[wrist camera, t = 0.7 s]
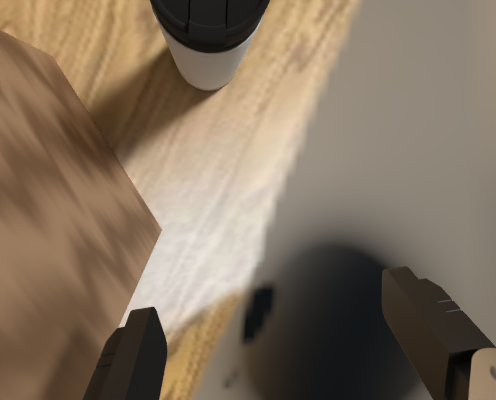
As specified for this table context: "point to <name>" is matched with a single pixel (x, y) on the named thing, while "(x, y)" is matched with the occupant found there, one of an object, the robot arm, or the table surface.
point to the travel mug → (208, 36)
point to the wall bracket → (60, 232)
